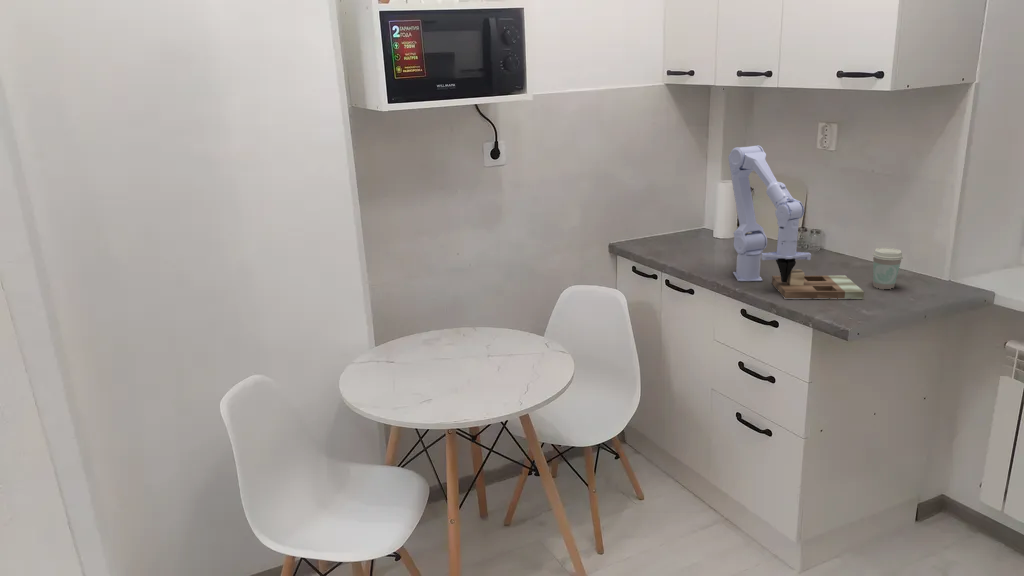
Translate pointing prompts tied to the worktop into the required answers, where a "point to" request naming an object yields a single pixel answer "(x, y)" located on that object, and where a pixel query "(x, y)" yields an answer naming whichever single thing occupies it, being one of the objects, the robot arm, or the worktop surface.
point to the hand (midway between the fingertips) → (783, 281)
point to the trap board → (820, 288)
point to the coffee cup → (886, 267)
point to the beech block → (796, 277)
